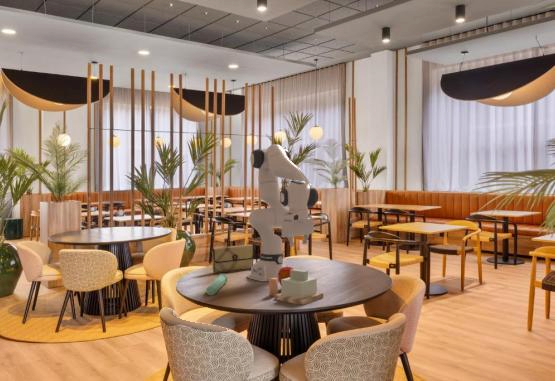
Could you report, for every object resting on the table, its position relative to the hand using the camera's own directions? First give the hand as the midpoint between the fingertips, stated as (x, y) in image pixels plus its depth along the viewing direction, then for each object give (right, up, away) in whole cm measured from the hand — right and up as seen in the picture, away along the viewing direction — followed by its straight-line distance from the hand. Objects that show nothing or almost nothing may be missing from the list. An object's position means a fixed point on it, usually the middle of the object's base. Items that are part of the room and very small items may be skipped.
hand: (298, 245), depth 217 cm
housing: (0, -23, +1) cm, 23 cm away
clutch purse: (-35, -23, +65) cm, 77 cm away
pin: (-12, -25, +7) cm, 28 cm away
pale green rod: (-41, -25, +20) cm, 52 cm away
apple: (-5, -24, +18) cm, 31 cm away
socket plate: (0, -25, +1) cm, 25 cm away
